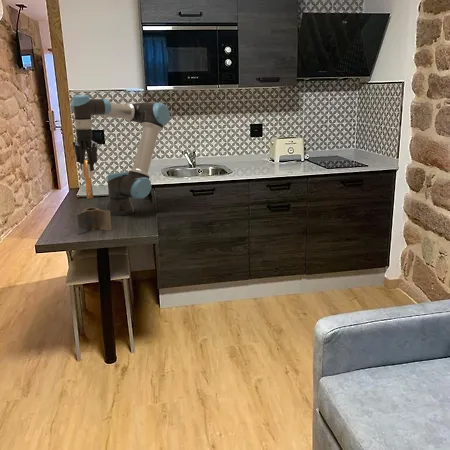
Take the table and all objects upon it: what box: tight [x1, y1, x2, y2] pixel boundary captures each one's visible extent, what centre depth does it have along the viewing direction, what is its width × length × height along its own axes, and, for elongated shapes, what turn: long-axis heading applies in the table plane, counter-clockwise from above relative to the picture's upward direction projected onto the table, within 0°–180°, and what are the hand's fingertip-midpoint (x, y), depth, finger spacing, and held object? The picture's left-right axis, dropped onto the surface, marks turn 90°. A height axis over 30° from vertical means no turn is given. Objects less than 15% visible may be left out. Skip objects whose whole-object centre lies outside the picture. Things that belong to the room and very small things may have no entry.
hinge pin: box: [83, 158, 94, 199], centre depth 231 cm, size 3×3×19 cm
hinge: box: [75, 206, 112, 235], centre depth 232 cm, size 14×14×10 cm
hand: (88, 177), depth 231 cm, fingers closed on hinge pin, 3 cm apart
